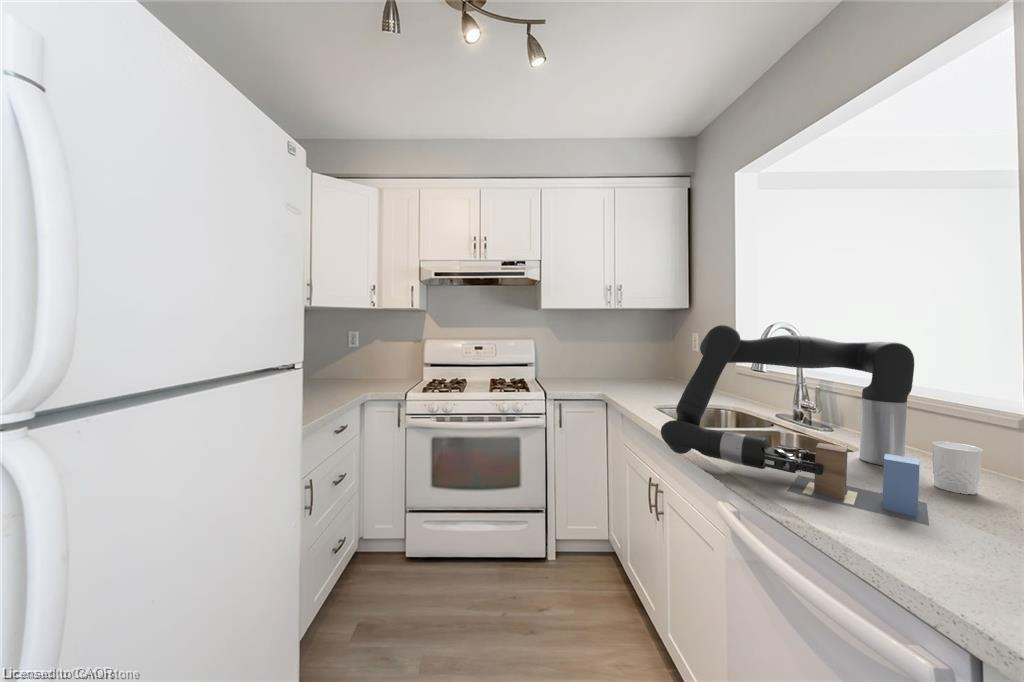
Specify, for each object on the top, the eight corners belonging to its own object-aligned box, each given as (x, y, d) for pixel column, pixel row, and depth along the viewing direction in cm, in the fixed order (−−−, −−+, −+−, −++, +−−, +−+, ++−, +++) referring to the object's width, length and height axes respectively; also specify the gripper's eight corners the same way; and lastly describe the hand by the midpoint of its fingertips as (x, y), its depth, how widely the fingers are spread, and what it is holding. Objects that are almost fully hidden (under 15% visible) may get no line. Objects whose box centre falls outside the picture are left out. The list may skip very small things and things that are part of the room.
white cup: (939, 491, 92) (941, 447, 92) (924, 480, 99) (926, 439, 99) (989, 498, 88) (991, 453, 88) (969, 486, 95) (971, 444, 95)
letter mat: (798, 477, 100) (798, 475, 100) (926, 505, 84) (926, 502, 84) (786, 493, 90) (786, 490, 90) (929, 528, 74) (929, 525, 74)
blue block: (883, 501, 85) (885, 453, 85) (916, 508, 81) (919, 459, 81) (882, 508, 81) (884, 458, 81) (917, 516, 78) (919, 464, 78)
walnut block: (817, 486, 92) (819, 442, 92) (846, 492, 89) (847, 447, 89) (814, 492, 89) (815, 447, 89) (843, 499, 85) (845, 452, 85)
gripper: (735, 439, 96) (822, 455, 84) (752, 429, 106) (831, 442, 94) (734, 471, 96) (820, 491, 84) (751, 458, 106) (830, 474, 95)
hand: (826, 465), depth 89 cm, fingers open, 8 cm apart
